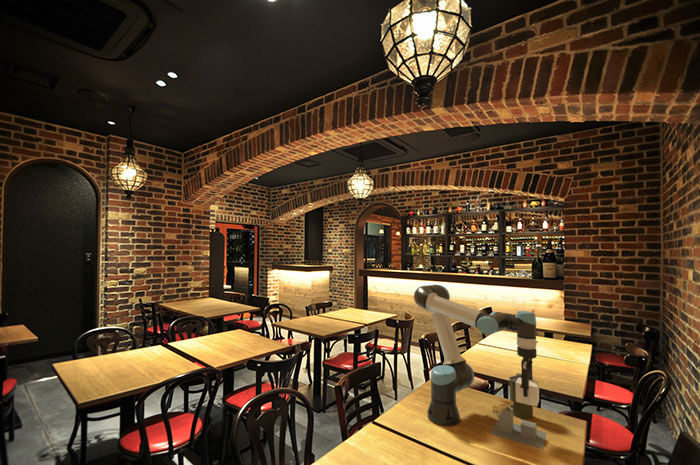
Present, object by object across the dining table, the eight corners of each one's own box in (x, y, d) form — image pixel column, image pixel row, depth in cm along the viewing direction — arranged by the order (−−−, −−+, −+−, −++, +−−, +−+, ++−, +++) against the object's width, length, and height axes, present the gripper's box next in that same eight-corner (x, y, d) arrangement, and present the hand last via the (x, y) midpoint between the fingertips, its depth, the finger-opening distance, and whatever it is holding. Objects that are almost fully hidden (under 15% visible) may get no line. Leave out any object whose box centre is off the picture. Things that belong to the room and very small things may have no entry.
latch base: (490, 435, 145) (489, 412, 146) (498, 421, 158) (497, 399, 159) (542, 451, 133) (542, 426, 134) (546, 434, 146) (546, 411, 147)
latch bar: (500, 404, 152) (500, 395, 153) (514, 408, 148) (513, 399, 149) (487, 415, 142) (487, 405, 142) (501, 419, 138) (501, 409, 138)
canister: (536, 422, 157) (535, 379, 159) (513, 419, 159) (512, 377, 161) (529, 412, 168) (528, 371, 169) (507, 409, 170) (506, 369, 172)
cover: (515, 401, 144) (515, 382, 144) (518, 395, 150) (518, 377, 151) (536, 406, 139) (536, 387, 139) (539, 400, 145) (538, 381, 146)
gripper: (533, 354, 135) (534, 411, 134) (539, 343, 152) (540, 394, 151) (513, 350, 140) (513, 406, 138) (521, 340, 157) (521, 390, 155)
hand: (527, 400), depth 145 cm, fingers closed on cover, 8 cm apart
